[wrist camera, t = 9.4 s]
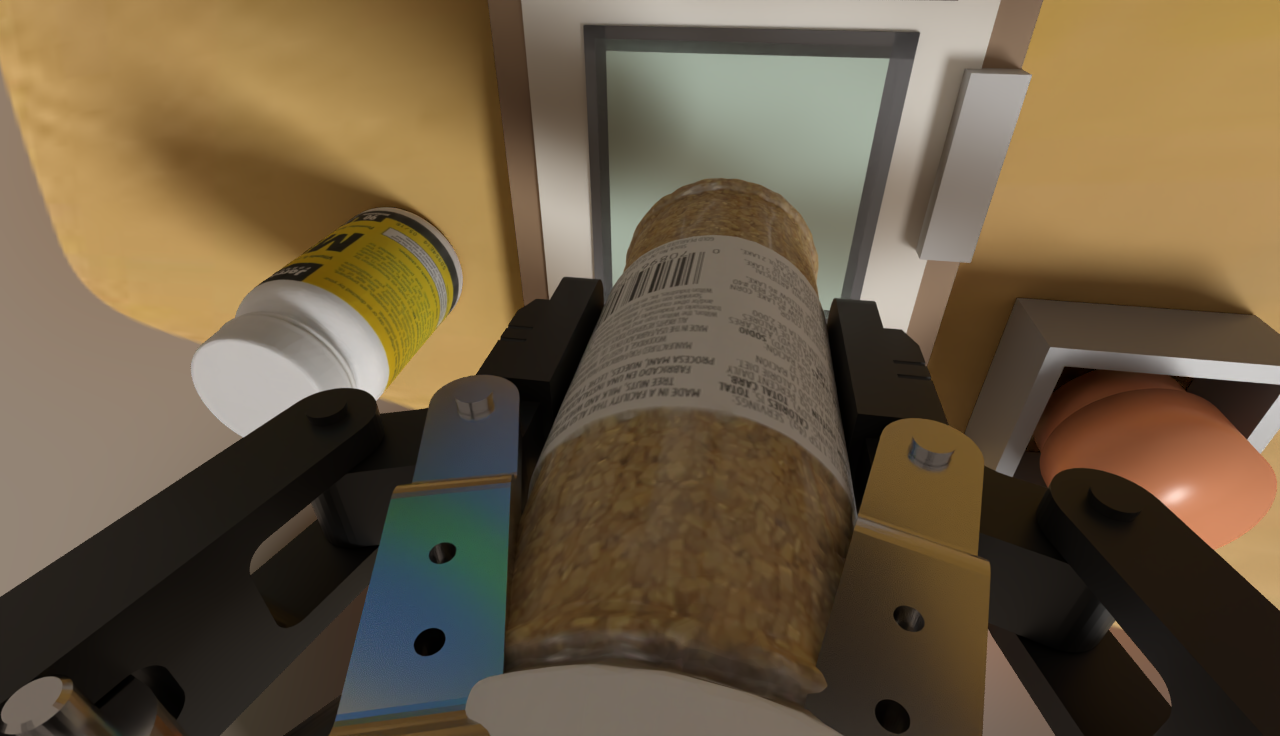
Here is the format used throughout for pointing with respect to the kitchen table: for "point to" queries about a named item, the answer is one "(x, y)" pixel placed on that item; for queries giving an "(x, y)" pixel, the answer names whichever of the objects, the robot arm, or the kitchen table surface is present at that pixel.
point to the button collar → (1122, 368)
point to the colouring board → (764, 130)
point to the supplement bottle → (331, 319)
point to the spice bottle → (686, 493)
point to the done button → (1159, 449)
